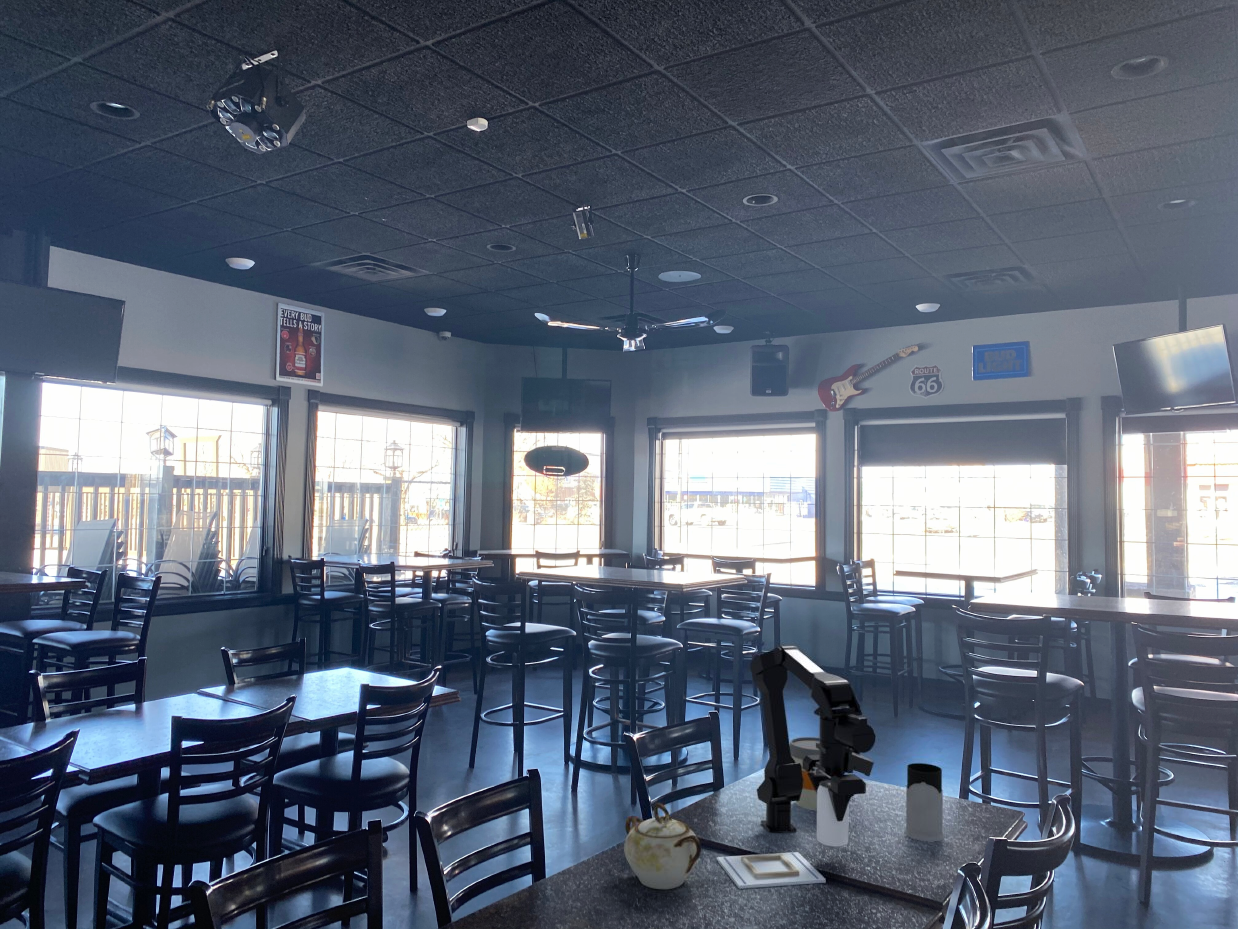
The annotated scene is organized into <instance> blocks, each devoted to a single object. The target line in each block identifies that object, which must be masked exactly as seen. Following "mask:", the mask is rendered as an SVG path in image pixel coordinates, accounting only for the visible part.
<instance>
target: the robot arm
mask: <svg viewBox="0 0 1238 929" xmlns="http://www.w3.org/2000/svg"><path fill="white" fill-rule="evenodd" d="M749 668H750V672H751V676H752V680H753V683H754V684H755V686H756V687H757V689H758V691H760V693H761V697H762V704H763V713H764V722H765V730H766V737H767V739H766V740H767V746H768V756H769V757H768V760H767V762H766V764H765V767H764V769H763V770H764V772H763V773H764V780H763V781H762V782H761V783H760V785H759V786H758V787H757V789H756V796H757V800H758V801H760V802H762V803H763V804H765V819H763V820H760V824H761V825H762V826H763V827H764V828H765V829H766V830H767V831H768V830H769V831H770V832H769V831H768V832H769V833H781V832H782V833H783V832H785V833H786V832H796V831H797V830H798V829H797V828H796V826H794V825H793V823H792V802H796V801H800V797H801V793H802V789H803V782H804V779H803V776H802V766H801V764H800V763H796V762H795V760H794V759H793V757H792V756H791V751H790V736H789V731H788V730H789V729H788V721H787V714H786V706H785V699H784V690H785V687H786V685H787V683H788V680H789V672H790V673H791V674H793V676H794V677H796V679H798V680H799V681H800V682H801V683H803V684H804V686H806V687H807V688H808V689H809V691H810V698H811V699H813V701H814V702H815V703H816V705H817V708H816V709H814V710H813V714H814V715H815V716H819V737H818V738H819V743H816V748H818V749H819V755H807V756H806V757H805V758H804V759H803V769H804V770H806V771H807V772H810V770H811V773H807V774H808V776H809V778H810V780H811V782H812V784H813V787H814V789H815V791H816V794H817V790H818V788H819V786H820V784H819V783H820V782H821V781H825V780H830V785H831V788H828V792H829V796H830V799H831V802H832V806H833V809H834V813H835V816H836V819H837V821H843V818H844V815H845V812H846V809H847V806H848V803H850V800H851V799H852V798H853V797H854V796H855V795H864V794H866V793H867V783H866V782H865V781H864V779H862V778H861V777H859V776H858V775H856V774H855V773H854V771H855V772H857V773H860V774H863V775H864V776H866V777H870V776H871V773H872V770H873V767H874V764H875V762H874V761H873V760H871V759H870V758H868V757H866V756H864V755H862V754H865V753H868V752H870V751H871V750H872V748H874V746H875V743H876V738H877V737H876V733H875V731H874V728H873V727H872V726H871V725H869V724H868V718H867V717H864V716H863V712H862V710H861V705H860V703H859V702H858V698H857V697H856V695H855V692H854V690H853V688H852V685H851V683H850V682H849V681H848V680H847V679H844V678H842V677H841V676H839V675H835V674H831V673H828V672H826V671H824V670H823V669H822V668H820V666H818V665H817V664H816V663H814V662H813V661H812V660H811V659H810V658H808V657H807V656H806V655H805V654H803V653H802V652H801V651H800V649H799V648H798V647H797V646H795V645H779V646H777V647H775V648H773V649H771V650H769V651H767V652H766V651H765V652H764V653H761V654H756V655H754V656H753V658H752V660H751V661H750V664H749ZM846 773H847V774H846Z"/></svg>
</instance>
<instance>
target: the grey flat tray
mask: <svg viewBox="0 0 1238 929" xmlns="http://www.w3.org/2000/svg"><path fill="white" fill-rule="evenodd" d="M776 854H783V855H784V856H785V857H786V858H787V859H788V860H789V861H790V862H791V863H792V865H793V866H794V867H795V868H796V869H797V870H798V871H799V876H787V877H773V878H759V879H756V877H755V876H754V875H753V874H752V873H751V872H750V870H749V869H748V868H747V867H746V866H745V864H744V863H743V862H742V861H741V857H745V856H760V855H776ZM716 861H717V862H718V864H719V865H720V867H721V868H722V869H723V870H724V872H725V873H726V874H727V875H728V877H729V878H730V879H731V880H732V882H733V883H734V884H735V886H736V887H737V888H738V889H741V890H742V889H754V888H766V887H781V886H796V885H805V884H806V885H807V884H811V885H812V884H820V883H821V884H822V883H825V884H826V878H825V877H824V876H823V875H822V874H821V873H820V872H819V871H818V870H817V869H816V868H815V867H814V866H813V865H812V864H811V863H810V862H809V861H808V860H806V859H805V857H804V856H803V855H801V853H799V851H794V852H777V853H776V852H775V853H766V854H763V853H762V854H746V855H732V856H717V857H716ZM750 863H751V865H752V866H753V867H754V868H755V869H756V870H757V871H758V873H764V872H778V871H791V870H790V869H789V868H788V867H787V866H786V865H785V864H784V863H783V862H782V861H781V860H765V861H750Z"/></svg>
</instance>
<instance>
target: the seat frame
mask: <svg viewBox="0 0 1238 929" xmlns="http://www.w3.org/2000/svg"><path fill="white" fill-rule="evenodd" d="M759 855H760V854H759ZM744 856H745V855H744ZM765 860H781V861H782V862H783V863H784V864H785V865H786V866H787V867H788V868H789V869H790V870H791V871H778V872H764V873H758V871H757V870H756V869H755V868H754V867H753V866H752V865H751V863H750V861H765ZM741 861H742V862H743V863H744V864H745V866H746V867H747V868H748V869H749V870H750V872H751V873H752V874H753V875H754V876H755V877H756V879H759V878H773V877H787V876H799V871H798V870H797V869H796V868H795V867H794V866H793V865H792V863H791V862H790V861H789V860H788V859H787V858H786V857H785V856H784V855H783V854H776V855H760V856H745V857H741Z"/></svg>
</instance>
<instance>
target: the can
mask: <svg viewBox="0 0 1238 929" xmlns="http://www.w3.org/2000/svg"><path fill="white" fill-rule="evenodd" d="M819 784H820V786H819V788H818V790H817V810H816V840H817V841H818V844H820V845H822V846H825V847H829V848H842V847H843V848H844V847H845V846H847V845H848V843H849V817H850V816H849V803H850V802H849V803H848V806H847V809H846V812H845V815H844V818H843V821H837V819H836V816H835V813H834V809H833V806H832V802H831V799H830V796H829V792H828V788H831V785H830V780H825V781H821V782H820V783H819Z"/></svg>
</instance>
